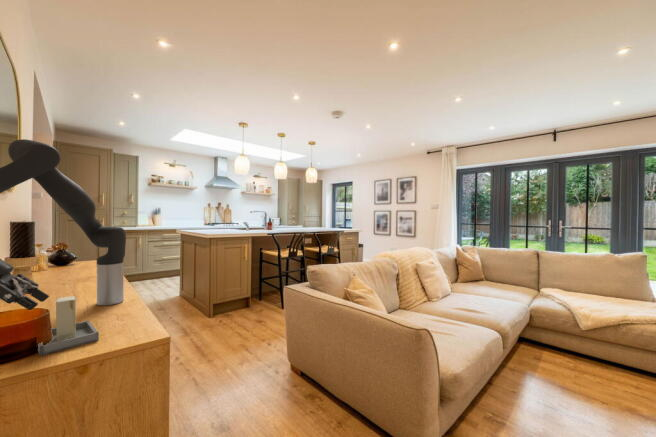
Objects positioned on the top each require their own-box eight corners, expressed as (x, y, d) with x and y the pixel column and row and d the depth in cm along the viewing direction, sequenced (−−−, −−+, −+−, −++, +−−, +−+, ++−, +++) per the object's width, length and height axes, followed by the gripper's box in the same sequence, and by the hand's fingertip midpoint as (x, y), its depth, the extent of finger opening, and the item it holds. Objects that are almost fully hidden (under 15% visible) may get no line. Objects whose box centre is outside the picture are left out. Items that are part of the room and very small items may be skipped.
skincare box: (76, 339, 84) (75, 299, 84) (56, 344, 81) (55, 302, 81) (75, 333, 89) (75, 295, 89) (56, 337, 86) (56, 297, 86)
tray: (35, 340, 85) (35, 332, 85) (88, 327, 95) (88, 320, 95) (39, 356, 76) (39, 347, 76) (98, 340, 85) (98, 332, 85)
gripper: (-18, 261, 71) (43, 299, 77) (9, 254, 83) (60, 287, 89) (-50, 284, 69) (16, 321, 74) (-17, 273, 81) (37, 306, 87)
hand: (40, 303), depth 82 cm, fingers open, 8 cm apart
